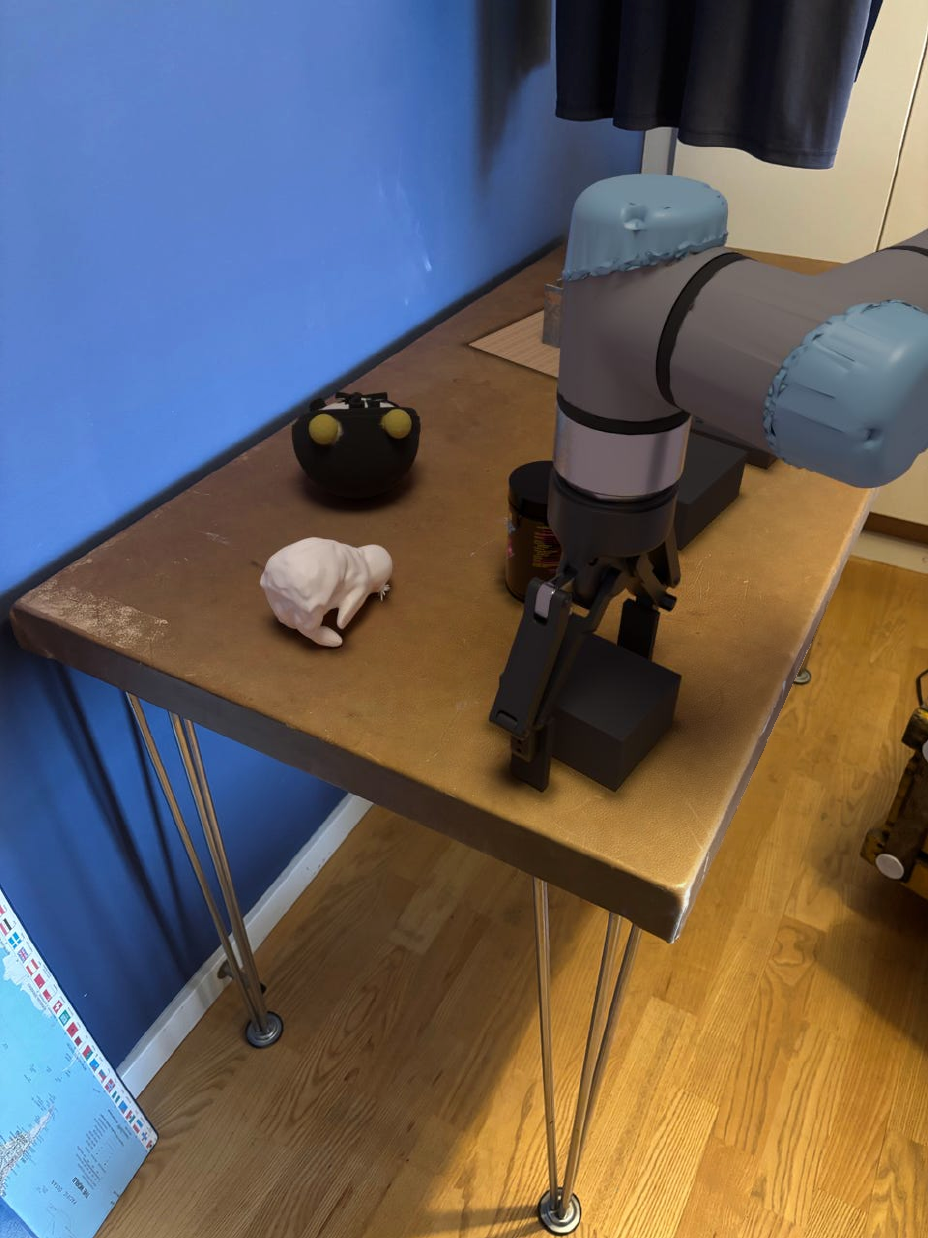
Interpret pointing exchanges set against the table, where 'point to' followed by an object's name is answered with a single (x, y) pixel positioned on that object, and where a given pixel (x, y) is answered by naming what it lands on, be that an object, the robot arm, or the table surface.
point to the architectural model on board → (553, 313)
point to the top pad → (611, 710)
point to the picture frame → (732, 442)
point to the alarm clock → (356, 443)
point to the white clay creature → (323, 583)
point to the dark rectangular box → (706, 485)
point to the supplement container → (530, 528)
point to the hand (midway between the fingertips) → (583, 722)
